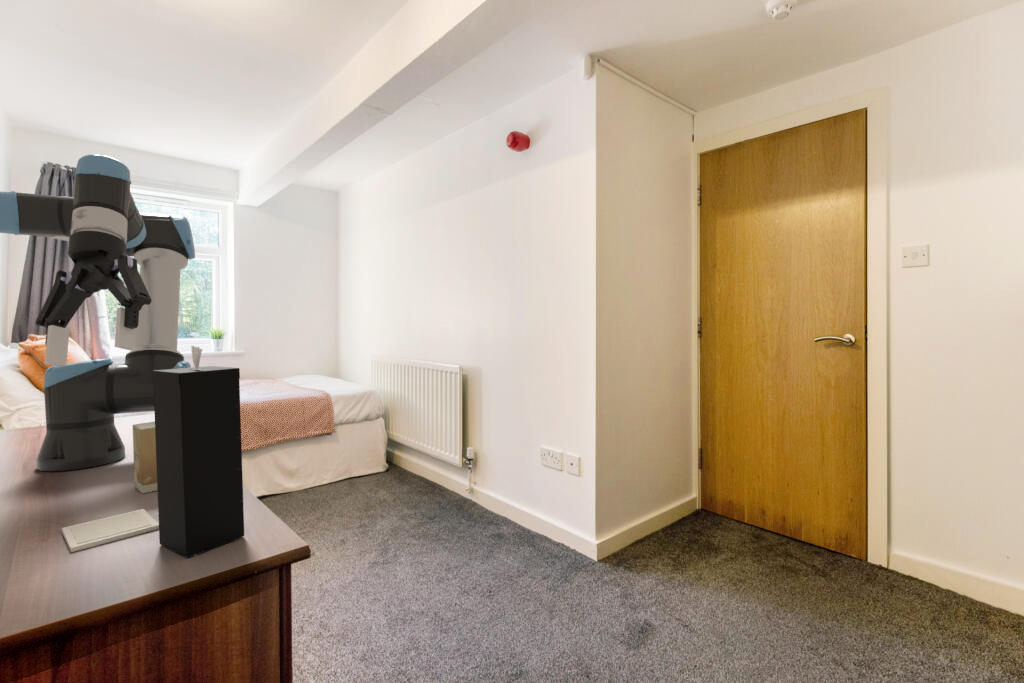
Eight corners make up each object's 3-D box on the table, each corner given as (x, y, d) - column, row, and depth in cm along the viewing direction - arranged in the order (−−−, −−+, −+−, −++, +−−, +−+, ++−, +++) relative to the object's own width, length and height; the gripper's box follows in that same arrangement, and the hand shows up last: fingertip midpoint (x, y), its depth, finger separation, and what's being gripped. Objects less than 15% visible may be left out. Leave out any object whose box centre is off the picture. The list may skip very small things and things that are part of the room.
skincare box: (133, 487, 93) (130, 424, 93) (160, 481, 97) (158, 420, 96) (142, 494, 89) (140, 428, 89) (170, 488, 92) (168, 424, 92)
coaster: (61, 532, 73) (61, 527, 73) (143, 512, 81) (143, 508, 80) (71, 552, 66) (70, 547, 66) (159, 528, 74) (159, 524, 74)
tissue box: (185, 559, 64) (178, 347, 63) (158, 545, 68) (150, 346, 67) (245, 537, 71) (239, 345, 70) (216, 525, 75) (210, 344, 74)
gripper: (15, 247, 83) (0, 367, 77) (139, 211, 79) (132, 335, 73) (63, 264, 90) (52, 375, 84) (178, 231, 86) (175, 346, 80)
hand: (89, 357), depth 78 cm, fingers open, 13 cm apart
